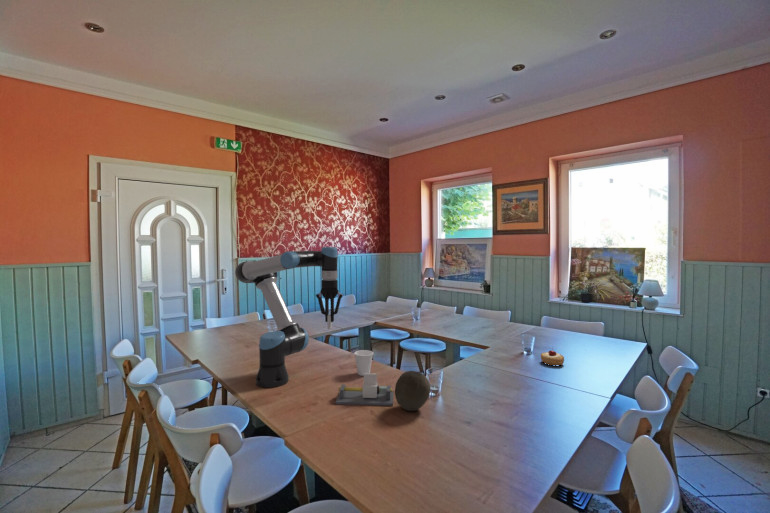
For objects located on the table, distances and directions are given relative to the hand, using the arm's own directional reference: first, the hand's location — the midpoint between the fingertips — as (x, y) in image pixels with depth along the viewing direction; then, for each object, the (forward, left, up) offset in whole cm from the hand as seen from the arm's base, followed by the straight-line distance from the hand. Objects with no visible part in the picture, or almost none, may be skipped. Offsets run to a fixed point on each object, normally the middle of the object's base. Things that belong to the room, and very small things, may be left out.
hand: (329, 328), depth 171 cm
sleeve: (+21, -16, -25) cm, 36 cm away
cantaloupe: (+39, -24, -27) cm, 53 cm away
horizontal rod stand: (+19, -16, -26) cm, 36 cm away
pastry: (+119, +36, -27) cm, 127 cm away
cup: (+15, +13, -27) cm, 33 cm away
